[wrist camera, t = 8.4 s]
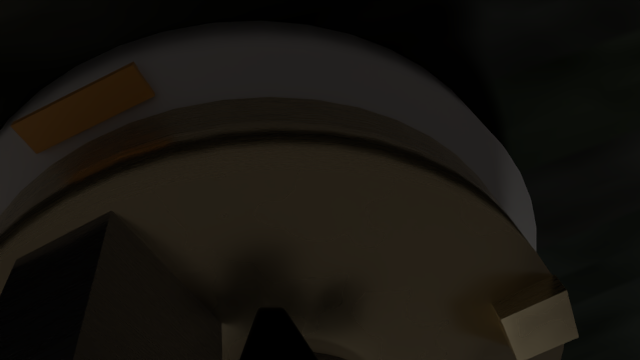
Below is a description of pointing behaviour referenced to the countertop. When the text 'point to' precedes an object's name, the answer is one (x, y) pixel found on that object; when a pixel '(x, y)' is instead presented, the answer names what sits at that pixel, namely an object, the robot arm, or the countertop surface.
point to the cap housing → (249, 96)
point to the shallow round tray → (270, 244)
